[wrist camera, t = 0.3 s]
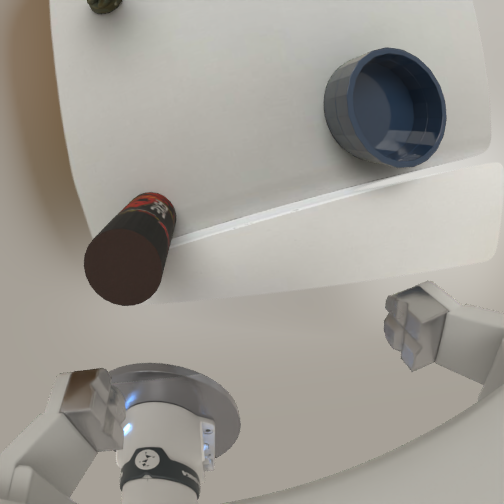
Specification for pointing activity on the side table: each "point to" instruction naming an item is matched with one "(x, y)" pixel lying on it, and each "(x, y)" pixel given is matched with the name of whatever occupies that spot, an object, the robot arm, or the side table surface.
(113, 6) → the figurine
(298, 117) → the side table surface
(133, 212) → the deodorant
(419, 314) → the robot arm
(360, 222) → the side table surface
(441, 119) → the pot
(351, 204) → the side table surface
